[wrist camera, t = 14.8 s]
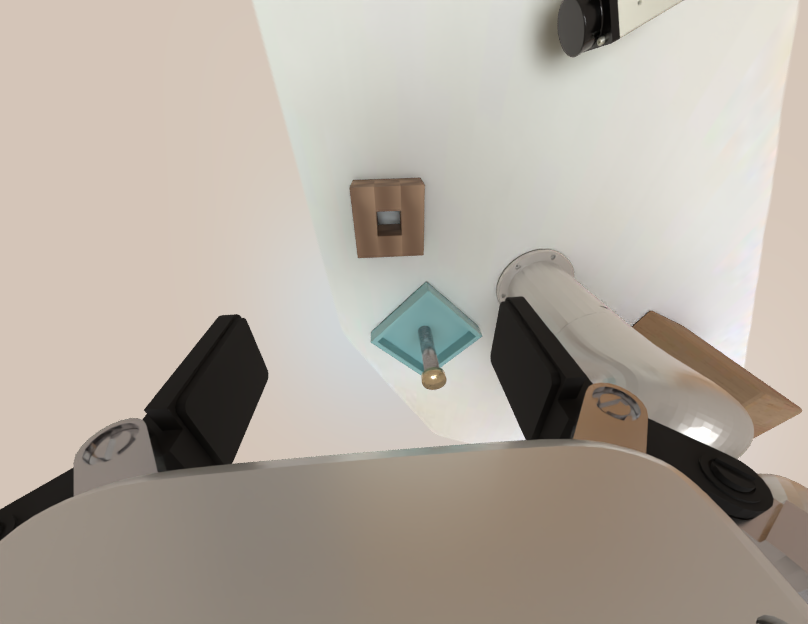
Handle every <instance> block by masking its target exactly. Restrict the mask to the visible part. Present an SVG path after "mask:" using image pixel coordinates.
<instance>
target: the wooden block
mask: <svg viewBox="0 0 808 624" xmlns="http://www.w3.org/2000/svg"><path fill="white" fill-rule="evenodd" d="M633 328H634V329H635V330H636V331H638V332H639V333H640V334H641V335H643V336H644V337H645V338H647V339H648V340H649V341H650V342H652V343H653V344H654V345H656V346H657V347H659V348H660V349H662V350H663V351H665V352H666V353H668V354H669V355H671V356H672V357H674V358H675V359H677V360H679V361H680V362H682V363H683V364H685V365H687V366H688V367H690V368H692V369H693V370H695V371H697V372H698V373H700V374H701V375H703V376H705V377H706V378H708V379H710V380H711V381H713V382H714V383H715V384H717V385H718V386H720V387H721V388H723V389H724V390H725V391H727V392H728V393H729V394H730V395H731V396H732V397H734V398H735V399H736V400H737V401H738V402H739V403H740V404H741V405H742V406H743V407H744V408H745V410H746V411H747V412H748V414H749V416H750V418H751V420H752V422H753V426H754V437H753V438H755V437H757V436H759V435H761V434H762V433H764V432H766V431H768V430H770V429H772V428H774V427H775V426H777V425H779V424H781V423H783V422H785V421H787V420H788V419H790V418H792V417H794V416H796V415H798V414H800V413H801V412H802V409H801V408H800V407H799V406H797V405H796V404H794V403H792V402H791V401H790V400H789V399H787V398H786V397H784V396H783V395H781V394H780V393H778V392H777V391H776V390H774V389H773V388H771V387H770V386H768V385H767V384H766V383H764V382H763V381H761V380H760V379H758V378H757V377H755V376H754V375H752V374H751V373H750V372H748V371H747V370H746V369H744V368H743V367H741V366H740V365H738V364H737V363H735V362H734V361H733V360H731V359H730V358H728V357H727V356H725V355H724V354H723V353H721V352H720V351H718V350H717V349H715V348H714V347H713V346H711V345H710V344H708V343H707V342H705V341H704V340H702V339H701V338H700V337H698V336H697V335H695V334H694V333H692V332H691V331H690V330H688V329H687V328H685V327H684V326H682V325H680V324H678V323H676V322H674V321H672V320H670V319H668V318H666V317H664V316H662V315H660V314H658V313H656V312H653V311H650V312H648V313H647V314H646V315H645V316H644V317H643V318H642V319H640V320H639V321H638V322H637V323H636V324H635V325H634V326H633Z"/></svg>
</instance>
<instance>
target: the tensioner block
mask: <svg viewBox="0 0 808 624" xmlns="http://www.w3.org/2000/svg"><path fill="white" fill-rule="evenodd" d="M350 196H351V204H352V213H353V221H354V230H355V238H356V246H357V255H358V258H372V257H394V256H417V255H423V251H424V196H425V185H424V183H423V181H422V180H421V178H400V179H370V180H353V181H352V183H351V186H350ZM380 211H400V224H385V225H378V216H377V212H380Z"/></svg>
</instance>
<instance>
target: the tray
mask: <svg viewBox="0 0 808 624" xmlns="http://www.w3.org/2000/svg"><path fill="white" fill-rule="evenodd" d="M422 326H428V327H430V329H431V332H432V337H433V341H434V346H435V350H436V354H437V359H438V363H439V368H440V367H442V366H443V365H444V364H446V363H447V362H448V361H450V360H451V359H452V358H454V357H455V356H456V355H458V354H459V353H461V352H462V351H463V350H465V349H466V348H467V347H469V346H470V345H471V344H473V343H474V342H475V341H477V340H478V339H479V338H481V337H482V334H481V332H480V330H479V327H478V326H477V325H476V324H475V323H474V322H473V321H471V320H470V319H469V318H468V317H467V316H466V315H464V314H463V313H462V312H461V311H460V310H459V309H458V308H456V307H455V306H454V305H453V304H452V303H451V302H449V301H448V300H447V299H446V298H445V297H444V296H442V295H441V294H440V293H439V292H438V291H437V290H435V289H434V288H433V287H432V286H431V285H430V284H429V283H427V282H425V283H424V284H423V285H422V286H421V287H420V288H419V289H417V290H416V291H415V292H414V293H413V294H412V295H411V296H410V297H409V298H408V299H407V300H405V301H404V302H403V303H402V304H401V305H400V306H399V307H398V308H397V309H396V310H395V311H393V312H392V313H391V314H390V315H389V316H388V317H387V318H386V319H385V320H384V321H383V322H381V323H380V324H379V325H378V326H377V327H376V328H375V329H374V330H373V331H372V332H371V343H373V344H374V345H376V346H377V347H379V348H380V349H382V350H383V351H385V352H386V353H388V354H389V355H391V356H392V357H394V358H396V359H397V360H399V361H400V362H402V363H403V364H405V365H406V366H408V367H409V368H411V369H412V370H414V371H415V372H417V373H418V374H420V375H422V373H423V371H424V366H423V360H422V353H421V347H420V341H419V335H418V329H419V328H420V327H422Z"/></svg>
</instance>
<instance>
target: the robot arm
mask: <svg viewBox="0 0 808 624" xmlns="http://www.w3.org/2000/svg"><path fill="white" fill-rule="evenodd" d="M497 297H498V300H499V302H500V307H499V313H498V318H497V323H496V329H495V334H494V339H493V345H492V350H491V363H492V366H493V368H494V370H495V372H496V374H497V377H498V379H499V381H500V383H501V386H502V388H503V390H504V392H505V395H506V397H507V399H508V401H509V403H510V406H511V408H512V410H513V412H514V415H515V417H516V419H517V421H518V424H519V426H520V428H521V430H522V433H523V435H524V437H525V439H526V440H522V441H505V442H490V443H477V444H465V445H451V446H439V447H426V448H413V449H400V450H388V451H377V452H364V453H352V454H340V455H329V456H316V457H305V458H294V459H282V460H271V461H259V462H248V463H237V464H232V462H233V460H234V458H235V456H236V453H237V451H238V449H239V446H240V444H241V442H242V439H243V437H244V435H245V432H246V430H247V427H248V425H249V423H250V420H251V418H252V416H253V413H254V411H255V409H256V406H257V403H258V402H259V399H260V397H261V394H262V392H263V390H264V387H265V385H266V383H267V380H268V370H267V368H266V365H265V363H264V360H263V358H262V356H261V353H260V351H259V349H258V346H257V344H256V342H255V339H254V337H253V335H252V332H251V330H250V327H249V325H248V323H247V321H246V319H245V318H241V316H240V315H237V314H236V315H222V316H219V317H218V318H217V319H216V320H215V322H214V323H213V324H212V325H211V327H210V328H209V329H208V330H207V332H206V333H205V334H204V336H203V337H202V338H201V339H200V340H199V342H198V343H197V344H196V346H195V347H194V348H193V349H192V350H191V352H190V353H189V354H188V355H187V357H186V358H185V359H184V361H183V362H182V363H181V364H180V365H179V367H178V368H177V369H176V371H175V372H174V373H173V374H172V375H171V377H170V378H169V379H168V381H167V382H166V383H165V384H164V385H163V387H162V388H161V389H160V391H159V392H158V393H157V394H156V395H155V397H154V398H153V399H152V401H151V402H150V403H149V404H148V406H147V407H146V408H145V409H144V411H145V412H146V413H147V415H146V416H145V417H144V418H143V420H141V419H138V418H129V419H125V420H121V421H118V422H116V423H113V424H111V425H109V426H107V427H105V428H104V429H102V430H100V431H99V432H97V433H96V434H95V435H93V436H92V437H91V438H89V439H88V440H87V441H86V442H85V443H84V444H83V445H82V446H81V448H80V449H79V451H78V452H77V454H76V456H75V460H74V468H72V469H70V470H68V471H67V472H65V473H63V474H61V475H60V476H58V477H56V478H54V479H53V480H51V481H49V482H48V483H46V484H44V485H42V486H40V487H39V488H37V489H35V490H34V491H32V492H30V493H28V494H26V495H25V496H23V497H21V498H19V499H18V500H16V501H14V502H12V503H11V504H9V505H7V506H5V507H4V508H2V509H0V624H808V488H806V487H804V486H802V485H801V484H799V483H797V482H795V481H792V480H790V479H787V478H785V477H782V476H778V475H773V474H757V473H755V472H754V471H753V470H752V469H751V468H750V467H748V466H747V465H745V464H744V463H742V462H741V461H739V460H738V458H739V457H740V456H741V455H742V454H743V453H744V452H745V451H746V450H747V449H748V447H749V446H750V444H751V442H752V440H753V437H754V426H753V422H752V420H751V418H750V416H749V414H748V412H747V411H746V410H745V408H744V407H743V406H742V405H741V404H740V403H739V402H738V401H737V400H736V399H735V398H734V397H732V396H731V395H730V394H729V393H728V392H727V391H725V390H724V389H723V388H721V387H720V386H718V385H717V384H715V383H714V382H713V381H711V380H710V379H708V378H706V377H705V376H703V375H701V374H700V373H698V372H697V371H695V370H693V369H692V368H690V367H688V366H687V365H685V364H683V363H682V362H680V361H679V360H677V359H675V358H674V357H672V356H671V355H669V354H668V353H666V352H665V351H663V350H662V349H660V348H659V347H657V346H656V345H654V344H653V343H652V342H650V341H649V340H648V339H647V338H645V337H644V336H643V335H641V334H640V333H639V332H638V331H636V330H635V329H634V328H633V327H631V326H630V325H629V324H628V323H626V322H625V321H624V320H623V319H622V318H621V317H619V316H618V315H617V314H616V313H614V312H613V311H612V310H611V309H610V308H609V307H607V306H606V305H605V304H604V303H603V302H601V301H600V300H599V299H598V298H597V297H596V296H594V295H593V294H592V293H591V292H590V291H588V290H587V289H586V288H585V287H584V286H583V285H581V284H580V283H579V282H578V281H577V280H575V279H574V269H573V266H572V264H571V262H570V261H569V260H568V259H567V258H566V257H565V256H564V255H562V254H561V253H559V252H556V251H553V250H548V249H547V250H536V251H532V252H529V253H526V254H524V255H522V256H520V257H519V258H517V259H516V260H515V261H513V262H512V263H511V264H510V265H509V266H508V267H507V268H506V269H505V271H504V272H503V274H502V275H501V277H500V279H499V282H498V286H497Z"/></svg>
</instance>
